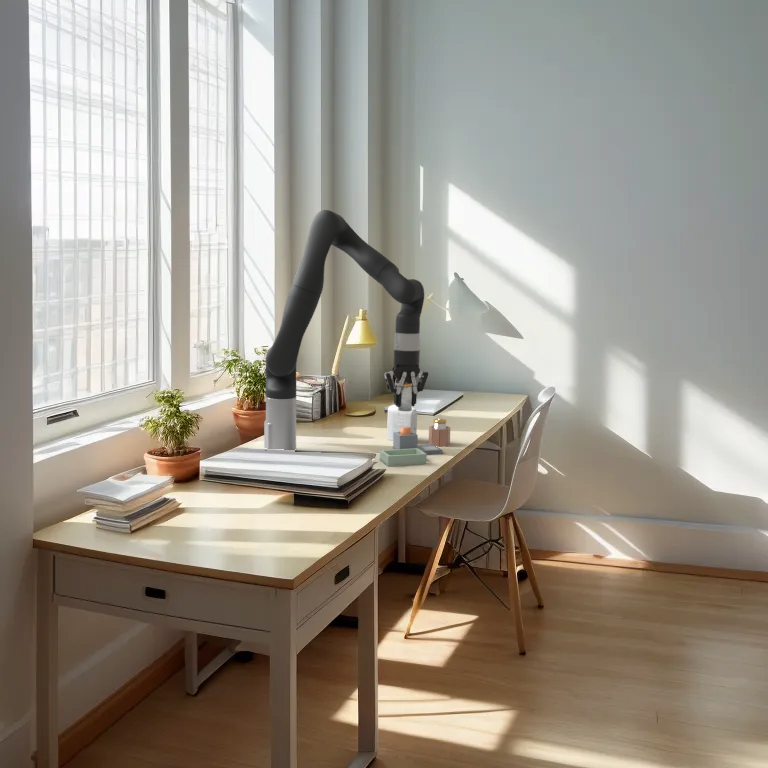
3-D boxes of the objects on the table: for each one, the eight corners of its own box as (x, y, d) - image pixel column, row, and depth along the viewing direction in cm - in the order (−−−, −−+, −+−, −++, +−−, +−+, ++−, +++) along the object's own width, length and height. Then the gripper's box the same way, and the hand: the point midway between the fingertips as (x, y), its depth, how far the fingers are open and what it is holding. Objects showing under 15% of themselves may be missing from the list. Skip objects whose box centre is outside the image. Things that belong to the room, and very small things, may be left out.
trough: (388, 466, 257) (388, 456, 257) (379, 460, 264) (379, 450, 264) (426, 463, 261) (426, 453, 261) (417, 457, 268) (417, 448, 268)
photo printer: (418, 443, 288) (419, 405, 286) (411, 445, 285) (412, 407, 283) (391, 438, 294) (392, 402, 292) (384, 441, 290) (385, 403, 289)
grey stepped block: (402, 457, 268) (403, 438, 268) (392, 450, 277) (393, 431, 276) (442, 454, 273) (442, 435, 272) (431, 448, 281) (431, 429, 280)
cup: (433, 448, 281) (434, 429, 280) (426, 443, 287) (426, 425, 286) (452, 447, 283) (452, 428, 282) (444, 442, 289) (445, 424, 288)
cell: (396, 409, 262) (396, 380, 260) (408, 408, 263) (409, 380, 262) (401, 411, 258) (402, 382, 257) (413, 411, 260) (414, 382, 258)
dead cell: (435, 446, 283) (436, 419, 281) (431, 443, 286) (431, 417, 285) (447, 445, 284) (448, 419, 283) (442, 442, 288) (443, 417, 286)
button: (402, 444, 273) (402, 429, 272) (398, 442, 276) (399, 426, 275) (411, 444, 274) (412, 428, 273) (408, 442, 277) (408, 426, 276)
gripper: (423, 346, 264) (421, 403, 267) (379, 347, 259) (377, 404, 261) (434, 349, 257) (432, 407, 260) (389, 350, 252) (387, 409, 254)
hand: (404, 405), depth 261 cm, fingers closed on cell, 4 cm apart
